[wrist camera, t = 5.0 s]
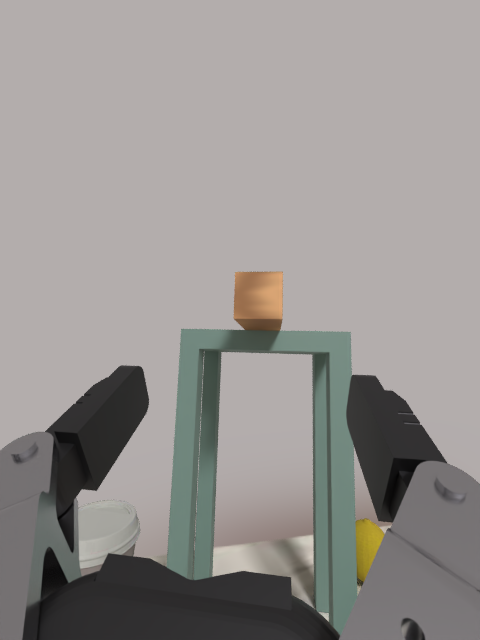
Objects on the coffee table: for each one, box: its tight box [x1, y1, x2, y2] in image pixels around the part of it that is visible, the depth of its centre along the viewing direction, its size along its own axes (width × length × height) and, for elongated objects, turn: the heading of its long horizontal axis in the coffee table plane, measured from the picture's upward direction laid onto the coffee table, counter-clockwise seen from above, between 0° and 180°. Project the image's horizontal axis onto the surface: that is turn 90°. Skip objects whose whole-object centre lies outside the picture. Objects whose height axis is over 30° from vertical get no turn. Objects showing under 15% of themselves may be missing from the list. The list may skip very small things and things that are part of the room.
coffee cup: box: [78, 500, 140, 576], centre depth 28 cm, size 8×8×12 cm
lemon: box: [355, 518, 385, 582], centre depth 36 cm, size 6×6×8 cm
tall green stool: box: [167, 329, 357, 636], centre depth 31 cm, size 17×12×32 cm
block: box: [234, 272, 283, 331], centre depth 30 cm, size 4×20×4 cm, turn 173°
